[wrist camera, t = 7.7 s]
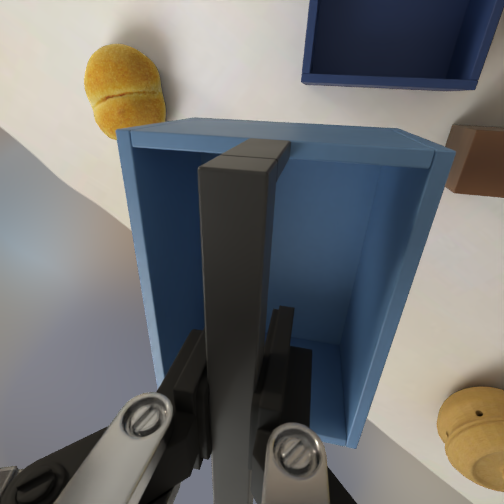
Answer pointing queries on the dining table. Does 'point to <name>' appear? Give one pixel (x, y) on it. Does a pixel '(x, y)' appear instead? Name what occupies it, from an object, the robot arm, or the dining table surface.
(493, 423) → the pot
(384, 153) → the upper bin
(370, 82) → the lower bin
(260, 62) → the dining table surface
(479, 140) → the block
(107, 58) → the bread roll
